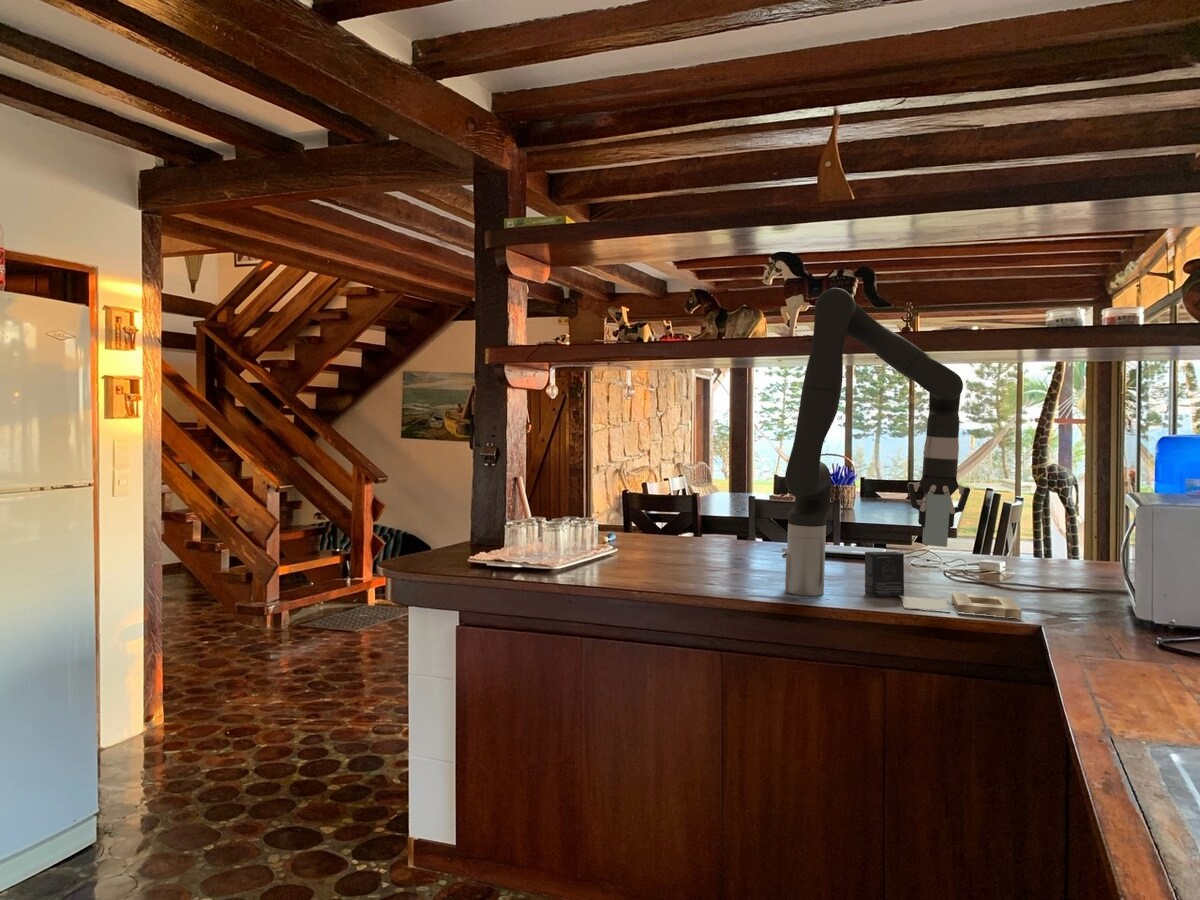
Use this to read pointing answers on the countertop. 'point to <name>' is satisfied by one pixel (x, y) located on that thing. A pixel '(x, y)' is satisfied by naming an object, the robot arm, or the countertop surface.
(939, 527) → the block
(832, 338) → the robot arm
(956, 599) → the pocket board
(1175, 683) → the countertop surface
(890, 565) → the box
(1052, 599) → the countertop surface
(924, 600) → the mat
